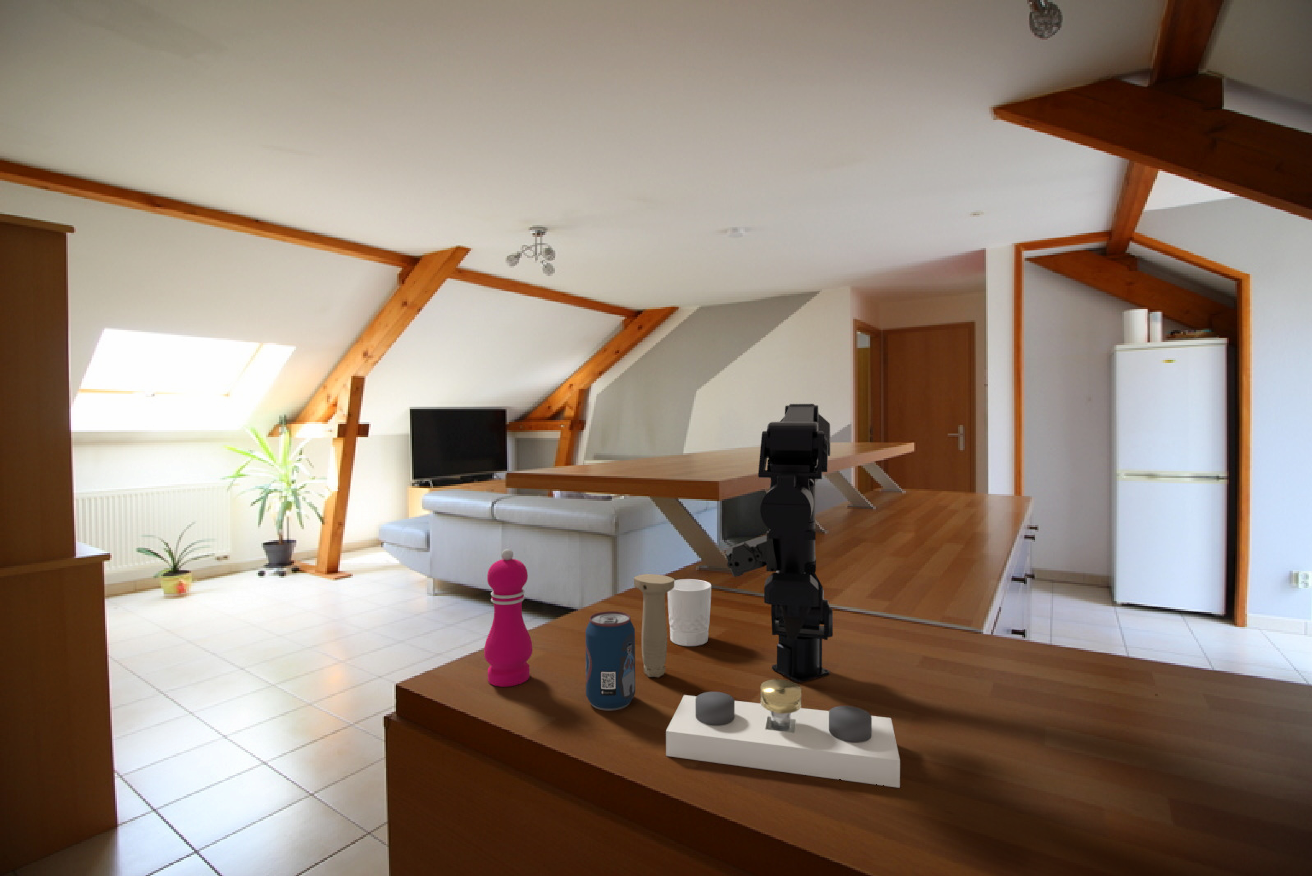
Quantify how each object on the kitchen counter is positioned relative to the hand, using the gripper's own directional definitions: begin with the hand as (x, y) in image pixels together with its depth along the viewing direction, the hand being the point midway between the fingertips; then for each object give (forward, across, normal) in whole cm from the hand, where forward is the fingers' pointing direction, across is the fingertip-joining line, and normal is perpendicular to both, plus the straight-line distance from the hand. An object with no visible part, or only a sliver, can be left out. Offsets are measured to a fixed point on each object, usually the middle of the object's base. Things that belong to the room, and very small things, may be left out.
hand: (792, 638), depth 83 cm
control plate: (+11, +7, -1) cm, 13 cm away
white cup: (+12, -28, -18) cm, 35 cm away
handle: (+12, -11, -21) cm, 27 cm away
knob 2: (+11, +7, +7) cm, 15 cm away
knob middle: (+8, +7, -1) cm, 11 cm away
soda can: (+11, -1, -25) cm, 27 cm away
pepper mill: (+11, -5, -43) cm, 44 cm away
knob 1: (+11, +7, -9) cm, 16 cm away
